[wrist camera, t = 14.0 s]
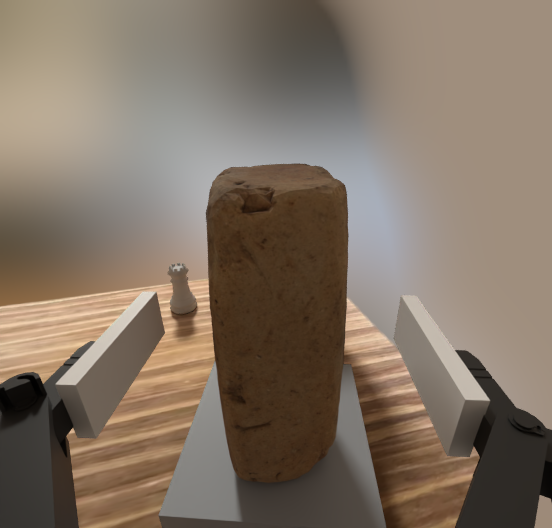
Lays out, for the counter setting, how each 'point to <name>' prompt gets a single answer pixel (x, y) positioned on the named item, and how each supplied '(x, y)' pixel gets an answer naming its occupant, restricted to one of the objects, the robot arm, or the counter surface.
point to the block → (278, 313)
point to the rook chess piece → (181, 290)
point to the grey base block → (277, 495)
